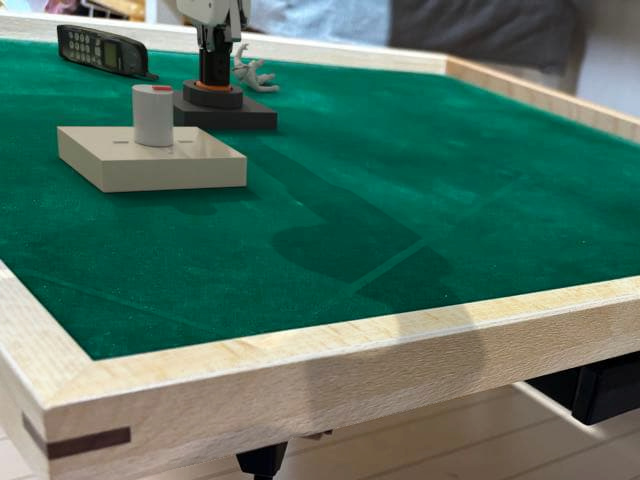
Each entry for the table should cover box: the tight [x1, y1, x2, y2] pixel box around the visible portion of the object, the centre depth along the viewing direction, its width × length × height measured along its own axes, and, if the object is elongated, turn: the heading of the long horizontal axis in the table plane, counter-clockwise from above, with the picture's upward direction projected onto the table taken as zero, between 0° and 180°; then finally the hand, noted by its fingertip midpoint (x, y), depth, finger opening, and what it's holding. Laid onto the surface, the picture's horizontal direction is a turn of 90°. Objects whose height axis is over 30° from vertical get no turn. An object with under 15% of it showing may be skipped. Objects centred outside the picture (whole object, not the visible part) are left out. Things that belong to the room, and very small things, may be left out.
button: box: [196, 81, 231, 91], centre depth 108 cm, size 4×4×2 cm
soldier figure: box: [230, 43, 281, 93], centre depth 129 cm, size 8×5×12 cm
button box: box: [172, 78, 279, 131], centre depth 109 cm, size 12×10×4 cm
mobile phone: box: [56, 23, 160, 81], centre depth 121 cm, size 5×3×15 cm
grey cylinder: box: [131, 84, 174, 147], centre depth 85 cm, size 4×4×5 cm
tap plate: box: [56, 126, 248, 194], centre depth 87 cm, size 14×11×3 cm
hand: (214, 84), depth 108 cm, fingers closed
